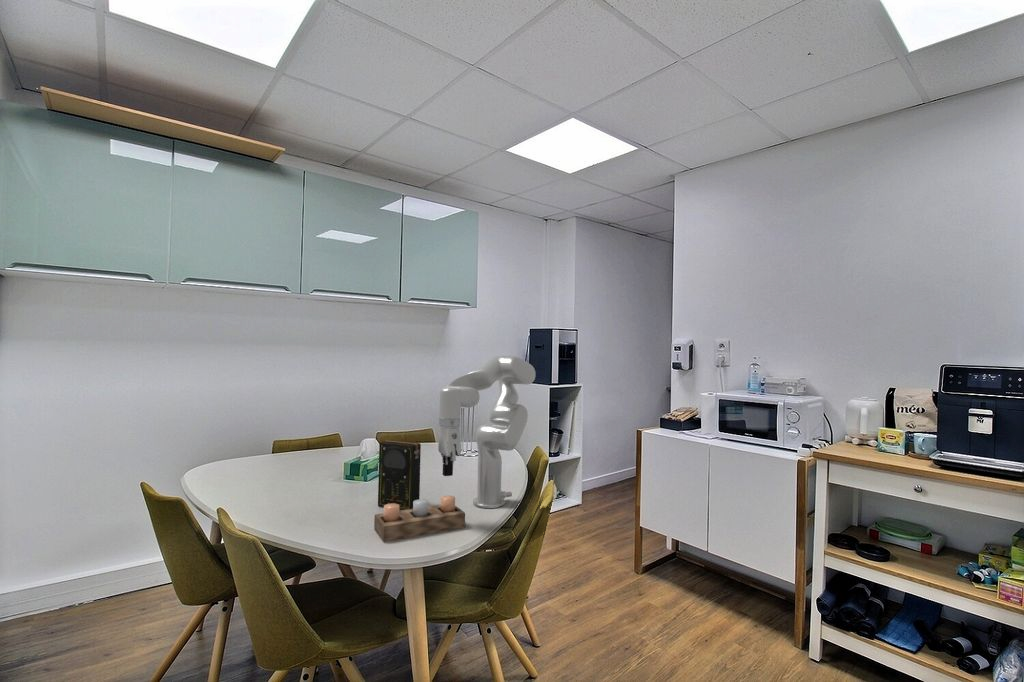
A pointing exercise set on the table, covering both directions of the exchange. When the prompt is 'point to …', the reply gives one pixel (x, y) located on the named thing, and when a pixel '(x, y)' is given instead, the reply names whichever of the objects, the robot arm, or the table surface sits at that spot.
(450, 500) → the button
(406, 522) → the wooden candle holder
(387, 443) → the voltmeter
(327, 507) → the table surface
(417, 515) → the button middle
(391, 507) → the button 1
